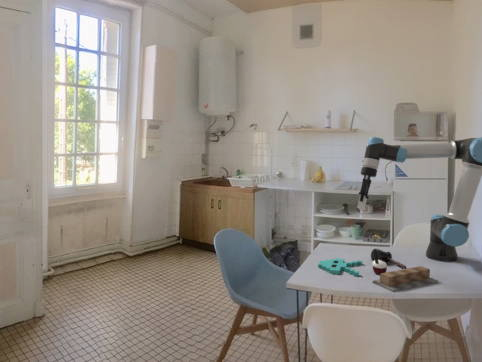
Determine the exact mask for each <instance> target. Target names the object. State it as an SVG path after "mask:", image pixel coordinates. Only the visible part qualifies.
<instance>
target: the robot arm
mask: <svg viewBox="0 0 482 362" xmlns="http://www.w3.org/2000/svg"><path fill="white" fill-rule="evenodd" d="M384 141H385V139H383V138H380V137H378V136H377V137H376V136H370V137H369V138H368V141H367V144H366V147H365V153H364V158H363V159H362V161H361V162H362V167H361V169H360V170H361V171H360V175H362V176H363V178H362V182H361V187H360V190H359V192H358V195H359V196H358V202H357V206H356V208H357V209H358V211H365V210H366V204H367V200H369V198H370V197H369V190H370V187H371V184H372V179H371V178H376V177H377V174H378V168H379V164H380V159H381V160H386V161H392V162H396V163H401V164H402V163H403V164H404V162H405V161H406V160H411V159H412V160H415V159H417V160H418V159H440V158H441V159H442V158H443V159H445V158H447V159H448V158H450V159H451V160H461V164H462V166H463V168H462V170H461V174H460V177H459V179H458V183H457V186H456V189H455V191H454V195H453V197H452V200H451V204H450V207H449V209H448V212H447V213H445V214H431V217H430V226H429V227H430V228H429V229H430V231H429V232H430V234H429V243H428V246H427V249H426V251H425V257H426V258H428V259H431V260H435V261H439V262H454V261H457V260H458V258H459V257H458V253H457V249H456V247H460V246H463V245H465V244H466V242H468V240H469V237H470V232H469V230H468V229H469V226H470V220H469V219H468V217H469V214H470V211H471V208H472V206H473V202H474V199H475V196H476V194H477V191H478V187H479V185H480V183H481V179H482V137H470V138H465V139H457V140H450V142H439V143H418V144H416V143H415V144H398V145H396V144H394V145H391V144H387V143H384Z"/></svg>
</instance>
